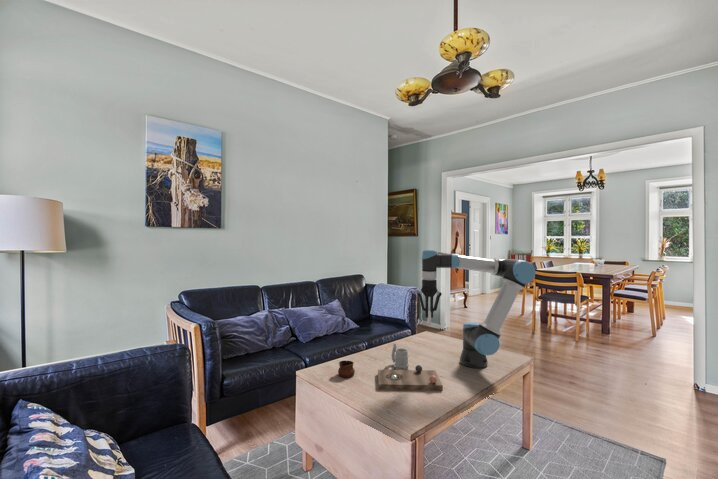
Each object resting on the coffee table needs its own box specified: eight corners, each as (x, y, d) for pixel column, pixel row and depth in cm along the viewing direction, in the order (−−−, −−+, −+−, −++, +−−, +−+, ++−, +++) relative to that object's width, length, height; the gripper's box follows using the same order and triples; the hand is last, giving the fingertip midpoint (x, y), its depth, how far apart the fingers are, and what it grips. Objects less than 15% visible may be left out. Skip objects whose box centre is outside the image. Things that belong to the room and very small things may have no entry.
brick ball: (436, 381, 165) (436, 374, 165) (437, 384, 162) (437, 377, 162) (428, 381, 166) (428, 374, 165) (430, 384, 162) (430, 377, 162)
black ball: (421, 370, 179) (421, 364, 179) (422, 373, 175) (422, 366, 175) (414, 370, 179) (414, 364, 179) (415, 373, 175) (415, 366, 175)
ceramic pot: (330, 383, 169) (330, 369, 169) (328, 370, 186) (328, 357, 186) (366, 382, 172) (366, 367, 172) (360, 369, 189) (360, 356, 189)
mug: (401, 371, 184) (401, 349, 184) (386, 365, 193) (387, 343, 193) (411, 368, 188) (411, 346, 188) (397, 362, 198) (397, 341, 198)
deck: (435, 375, 179) (435, 370, 179) (442, 390, 161) (442, 385, 161) (377, 374, 180) (377, 369, 180) (378, 389, 162) (378, 384, 162)
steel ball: (389, 375, 173) (392, 382, 172) (389, 377, 169) (392, 384, 169) (395, 372, 173) (398, 379, 172) (396, 374, 169) (399, 381, 169)
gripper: (440, 278, 184) (440, 322, 185) (415, 278, 185) (415, 321, 185) (443, 280, 177) (443, 325, 177) (417, 279, 177) (417, 325, 177)
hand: (429, 323), depth 181 cm, fingers closed
